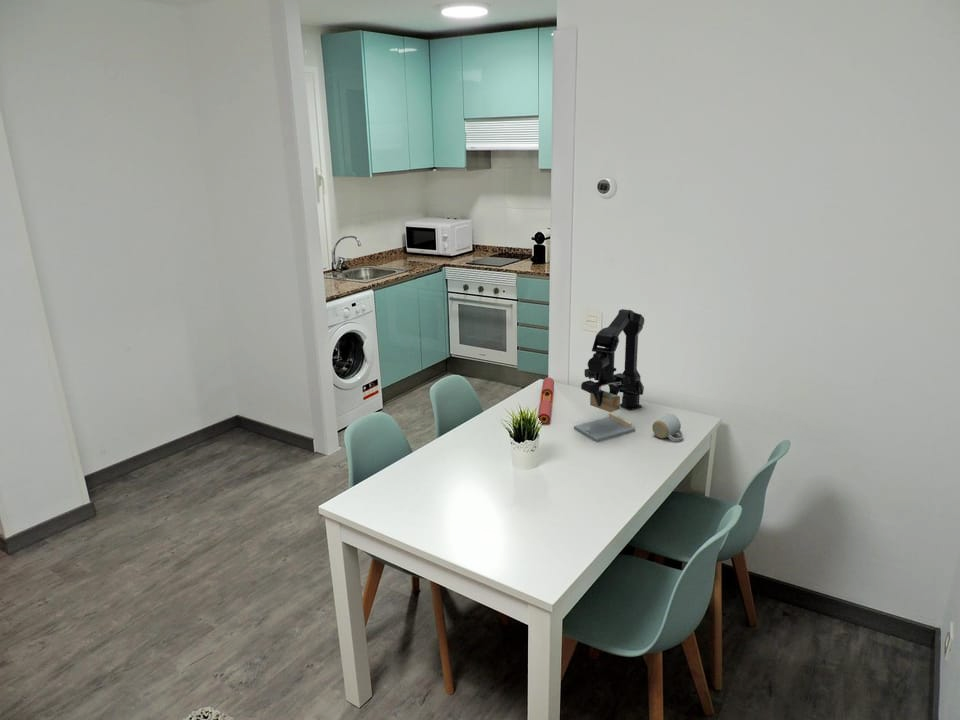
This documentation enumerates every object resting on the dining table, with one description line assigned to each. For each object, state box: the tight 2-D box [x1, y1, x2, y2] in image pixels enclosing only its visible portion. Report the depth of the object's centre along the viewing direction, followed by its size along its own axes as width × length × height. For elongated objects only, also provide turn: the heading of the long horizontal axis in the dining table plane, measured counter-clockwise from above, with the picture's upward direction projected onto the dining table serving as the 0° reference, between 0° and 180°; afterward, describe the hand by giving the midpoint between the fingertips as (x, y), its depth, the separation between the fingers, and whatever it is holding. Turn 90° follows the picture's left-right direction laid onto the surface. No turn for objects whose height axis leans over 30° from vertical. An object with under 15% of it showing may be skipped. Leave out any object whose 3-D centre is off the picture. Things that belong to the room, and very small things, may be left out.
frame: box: [589, 389, 621, 413], centre depth 246 cm, size 5×10×5 cm, turn 39°
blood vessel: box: [537, 377, 555, 426], centre depth 275 cm, size 42×5×5 cm, turn 172°
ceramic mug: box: [651, 413, 684, 443], centre depth 241 cm, size 11×8×8 cm
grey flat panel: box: [573, 412, 636, 443], centre depth 249 cm, size 18×14×3 cm
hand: (605, 404), depth 246 cm, fingers closed on frame, 5 cm apart
